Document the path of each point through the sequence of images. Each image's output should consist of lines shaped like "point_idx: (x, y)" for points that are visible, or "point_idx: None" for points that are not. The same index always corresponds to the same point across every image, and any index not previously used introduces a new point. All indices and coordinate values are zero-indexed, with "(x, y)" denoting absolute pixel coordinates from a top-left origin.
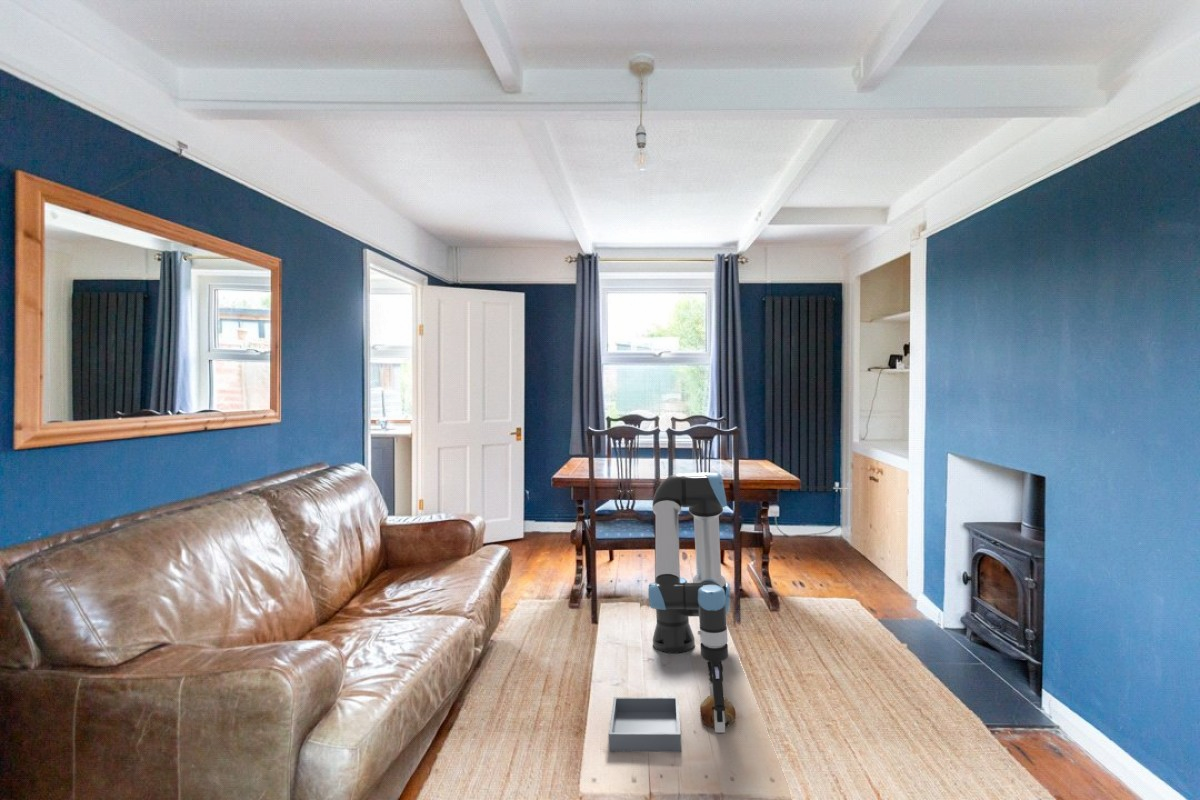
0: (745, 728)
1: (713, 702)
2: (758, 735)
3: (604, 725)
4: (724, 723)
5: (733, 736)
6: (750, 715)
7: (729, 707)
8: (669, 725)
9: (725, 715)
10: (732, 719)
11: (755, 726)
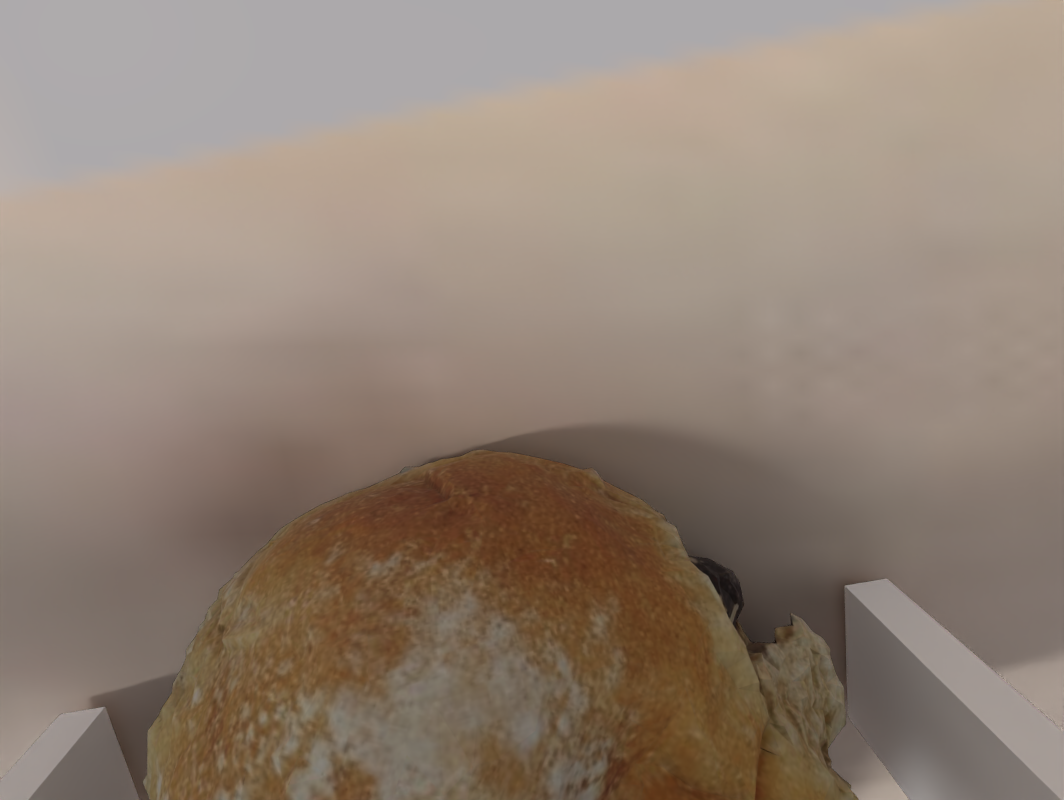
0: (718, 268)
1: None
2: (925, 27)
3: None
4: (995, 679)
5: (950, 453)
6: (263, 172)
7: (608, 691)
8: None
9: (776, 699)
10: (654, 516)
11: (637, 78)
